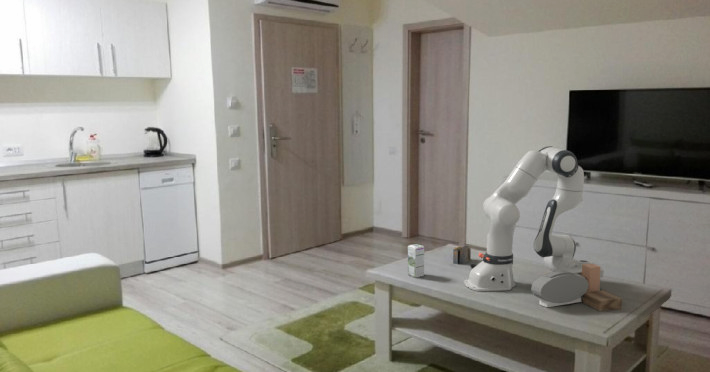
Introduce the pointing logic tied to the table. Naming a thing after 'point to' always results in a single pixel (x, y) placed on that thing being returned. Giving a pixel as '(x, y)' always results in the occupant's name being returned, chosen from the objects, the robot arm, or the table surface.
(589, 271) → the terracotta block
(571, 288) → the alarm clock
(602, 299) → the block
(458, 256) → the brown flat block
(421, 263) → the syrup box
